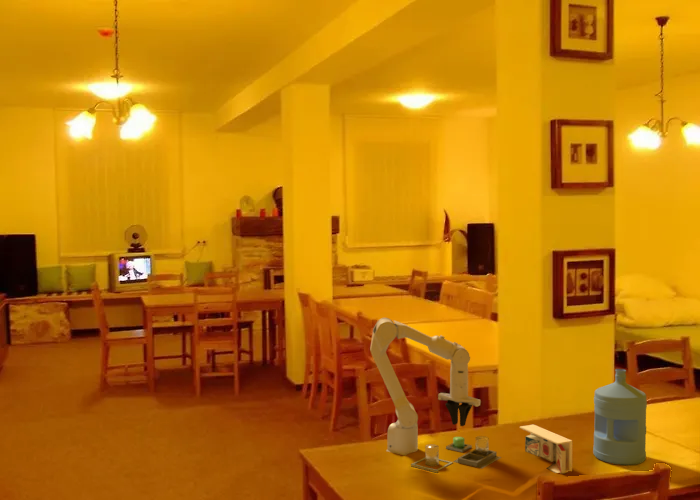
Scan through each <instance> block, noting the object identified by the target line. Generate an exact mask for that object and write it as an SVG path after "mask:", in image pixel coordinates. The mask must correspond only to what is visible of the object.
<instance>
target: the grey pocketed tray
mask: <svg viewBox="0 0 700 500" xmlns="http://www.w3.org/2000/svg"><path fill="white" fill-rule="evenodd" d="M501 458H502V457H501V456H497V451H494V450H489V455H487V456H481V455H477V454H476V448H474V449H473V450H470V451H469V452H467V453H465V454H463V455H461V456H459V457H457V459H456V460H455V459H454V460H453V461H452V462H453V463H457V464H461V465H466V466H471V467H473V468H479V469H484V468H486V467H488V466H489V465H491V464H493V463H494V462H496V461H498V460H500V459H501Z"/></svg>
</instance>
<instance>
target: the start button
mask: <svg viewBox="0 0 700 500" xmlns="http://www.w3.org/2000/svg"><path fill="white" fill-rule="evenodd" d="M452 443H453V447H456V448H461V449H462V448H463V447H464V444H465V438H464V436H463V437H462V436H453V438H452Z"/></svg>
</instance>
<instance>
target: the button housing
mask: <svg viewBox="0 0 700 500" xmlns="http://www.w3.org/2000/svg"><path fill="white" fill-rule="evenodd" d="M472 447H473V446H472V444H468V443H464V447H463V448H462V449H461V448H456V447H453V442H452V443H450V444H448V445H446V446H445V449H446V450H450V451H453V452H454V451H455V452H458V453H464V452H466V451H468V450H470V449H472Z"/></svg>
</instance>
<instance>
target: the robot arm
mask: <svg viewBox="0 0 700 500" xmlns="http://www.w3.org/2000/svg"><path fill="white" fill-rule="evenodd" d="M405 338H407V339H409V340H412V341H414V342H417V343H419V344H421V345H424V346H425V347H427V349H428V351H429V352H430V353H432V354H433V355H436V356H438V357H441V358H442V359H445V360H450V370H449V371H450V372H449V374H450V375H449V378H450V381H449V383H450V384H449V393H446V392H440V393H438V395H437V397H438V398H437V400H439V401H447V402H446V403H445V407H446V408H447V410H448V413H449V416H450V418H451V423H452V425H454V426H455V425H457V424H458V422H459V425H460V427H464V426H466V422H467V418H468V415H469V414H470V411H471V409H472V408H473V406H474V407H478V408H479V406H481V399H478V398H476V397H472V396H469V369H468V367H469V366H468V365H469V362H470V361H471V356H470V353H469V351H468V350H467V349H466V348H465V347H464V346H462V345H461V344H460V343H459V344H458V342H456V341H454V342H452V341H450V340H448V339H446V338H445V336H444V335H442V334H440V336H439V335H433V336H430V335H427V334H425V333H423V332H421V331H419V330H418V329H416V328H414V327H411V326H409V325H408V324H406V323H402V322H400V321H397V320H395V319H394V320H392V319H390V318H388V317H382V318H380V319H377V321H376V323H375V325H374V327H373V329H372V335H371V339H370V340H371V342H370V347H369V351H370V354H371V356H372V359H373V361H374V363H375V365H376V367H377V369H378V371H379V373H380V376H381V378H382V379H383V382H384V385H385V387H386V389H387V392H388V394H389V395H390V398H391V400H392V402H393V405H394V407H395V415H396V417H397V420H396V422H393V423H391V424H389V426H388V428H387V432H386V433H387V439H386V440H387V441H386V442H387V445H386V446H387V449H386V450H385V451H386V452H389V453H393V454H397V455H402V456H406V455H408V454H411V453H415V452H417V451H418V450H419V448H418V447H419V445H418V444H419V443H418V442H419V440H418V438H419V437H418V436H419V435H418V434H419V433H418V431H419V430H418V429H419V428H418V426H419V425H418V420H419V415H418V413H417V412H416V410H415V409H416V408H415V406H414V404H412V403H411V402H410V401H409V400H408V399H407V397H406V393H405V392H404V389H403V388H402V385H401V383H400V381H399V378H398V377H397V375H396V372H395V370H394V367H393V366H392V363H391V361H390V359H389V357H388V354H387V350H388V348H389V346H390V344H391V343H392V342H393V341H394V340H395V339H397V340H399V339H405Z"/></svg>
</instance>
